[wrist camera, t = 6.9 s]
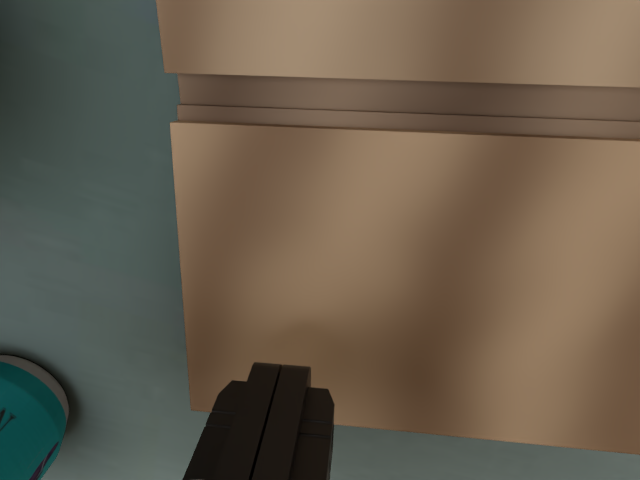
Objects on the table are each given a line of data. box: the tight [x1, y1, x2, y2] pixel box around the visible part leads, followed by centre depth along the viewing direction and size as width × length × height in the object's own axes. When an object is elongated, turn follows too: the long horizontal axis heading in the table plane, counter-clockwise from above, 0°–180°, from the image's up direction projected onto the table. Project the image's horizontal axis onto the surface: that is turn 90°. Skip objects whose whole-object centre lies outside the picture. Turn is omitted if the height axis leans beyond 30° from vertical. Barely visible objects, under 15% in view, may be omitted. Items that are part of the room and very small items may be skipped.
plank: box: [170, 104, 640, 455], centre depth 15 cm, size 18×10×1 cm, turn 89°
